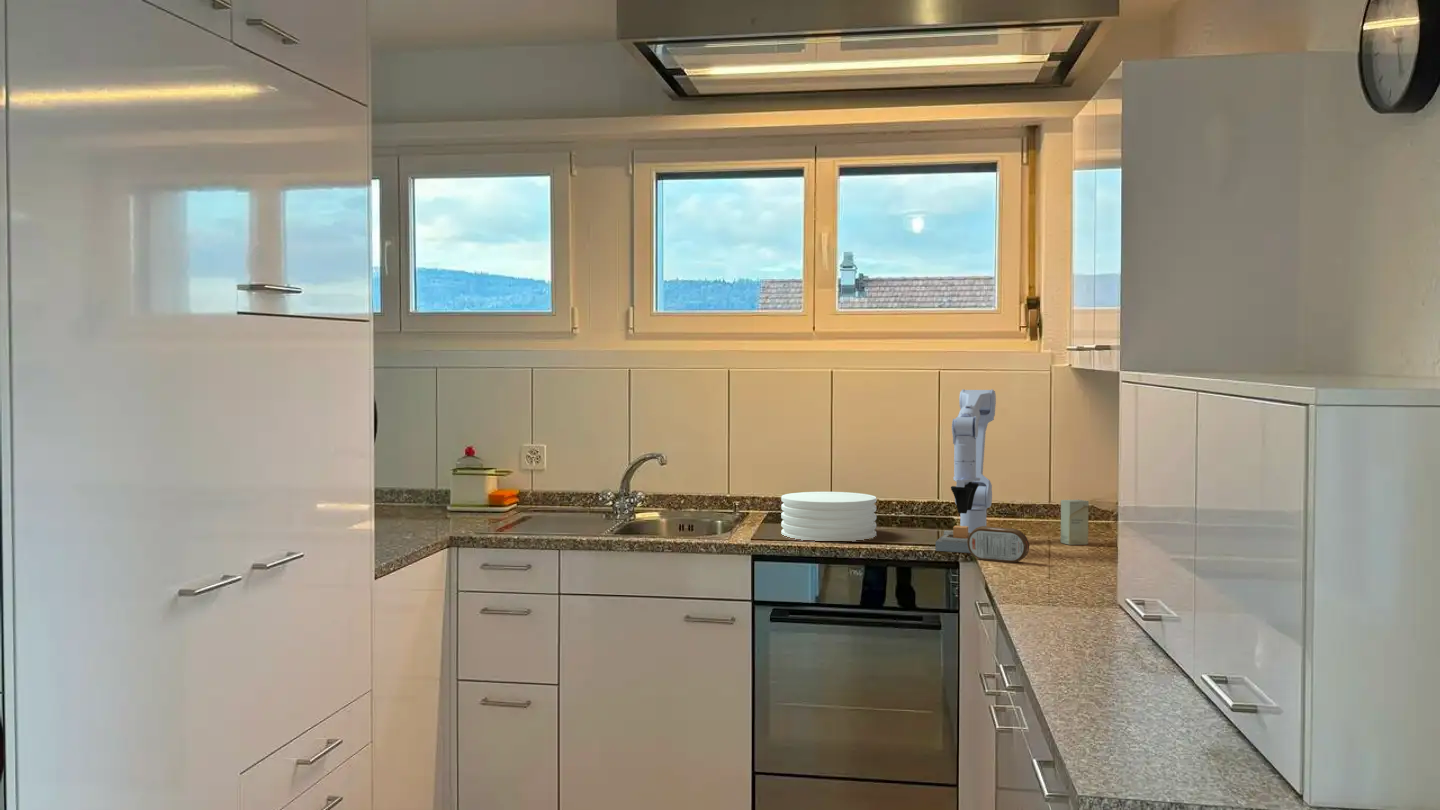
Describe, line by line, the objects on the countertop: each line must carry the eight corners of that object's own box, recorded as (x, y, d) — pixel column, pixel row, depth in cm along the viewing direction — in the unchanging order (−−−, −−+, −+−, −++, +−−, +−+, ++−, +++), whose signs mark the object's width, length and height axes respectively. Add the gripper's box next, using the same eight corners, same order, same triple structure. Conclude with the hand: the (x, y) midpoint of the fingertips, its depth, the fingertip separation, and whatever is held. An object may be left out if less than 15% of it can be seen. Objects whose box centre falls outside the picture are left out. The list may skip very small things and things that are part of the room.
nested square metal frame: (943, 544, 268) (943, 530, 268) (980, 546, 264) (980, 532, 264) (935, 550, 257) (935, 536, 257) (973, 553, 253) (973, 538, 253)
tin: (1029, 562, 239) (1029, 529, 239) (1026, 564, 237) (1026, 530, 236) (969, 557, 247) (969, 524, 247) (965, 559, 244) (965, 526, 244)
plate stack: (882, 542, 271) (883, 502, 271) (783, 542, 272) (783, 502, 272) (869, 528, 299) (869, 491, 299) (779, 528, 300) (779, 491, 300)
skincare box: (1069, 545, 266) (1069, 501, 265) (1059, 543, 270) (1059, 499, 270) (1089, 544, 267) (1089, 500, 267) (1079, 542, 271) (1079, 499, 271)
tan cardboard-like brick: (955, 547, 262) (955, 525, 262) (968, 548, 261) (968, 526, 261) (953, 549, 259) (953, 527, 259) (966, 550, 258) (966, 527, 258)
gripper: (975, 463, 252) (975, 515, 252) (984, 459, 265) (984, 509, 265) (948, 462, 255) (948, 514, 255) (958, 459, 268) (958, 507, 268)
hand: (964, 511), depth 260 cm, fingers open, 7 cm apart
